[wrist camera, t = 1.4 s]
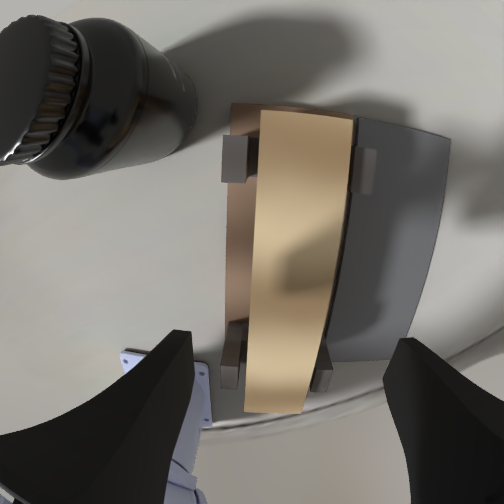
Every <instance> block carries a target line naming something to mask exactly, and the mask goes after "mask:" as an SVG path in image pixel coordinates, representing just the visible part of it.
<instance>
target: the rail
mask: <svg viewBox="0 0 504 504" xmlns="http://www.w3.org/2000/svg"><path fill="white" fill-rule="evenodd" d="M352 126H353V120H350V119H343V118H337V117H330V116H322V115H314V114H306V113H296V112H285V111H271V110H261V121H260V139H259V157H258V175H257V193H256V210H255V228H254V246H253V264H252V281H251V299H250V316H249V333H248V351H247V368H246V385H245V402H244V412H254V413H280V414H301V413H302V409H303V406H304V402H305V399H306V395H307V392H308V388H309V385H310V381H311V377H312V373H313V369H314V366H315V362H316V358H317V354H318V349H319V345H320V341H321V337H322V332H323V328H324V323H325V319H326V314H327V309H328V304H329V300H330V294H331V289H332V284H333V279H334V273H335V268H336V262H337V256H338V250H339V243H340V237H341V230H342V223H343V216H344V209H345V201H346V192H347V184H348V174H349V164H350V153H351V140H352Z"/></svg>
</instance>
